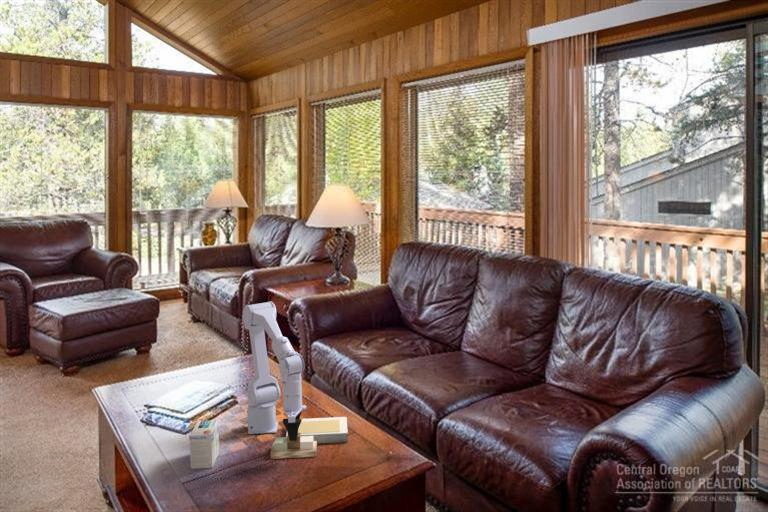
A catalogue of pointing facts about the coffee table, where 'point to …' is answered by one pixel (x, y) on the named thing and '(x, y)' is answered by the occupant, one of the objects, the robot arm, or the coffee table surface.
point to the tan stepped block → (294, 450)
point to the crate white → (306, 442)
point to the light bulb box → (204, 444)
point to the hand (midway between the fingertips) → (294, 434)
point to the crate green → (280, 444)
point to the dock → (325, 429)
